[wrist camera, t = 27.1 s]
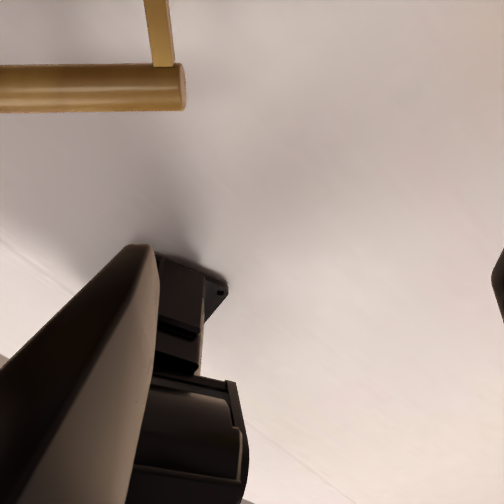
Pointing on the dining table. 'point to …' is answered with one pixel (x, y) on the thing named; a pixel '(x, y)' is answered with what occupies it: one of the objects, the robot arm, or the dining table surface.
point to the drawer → (102, 79)
